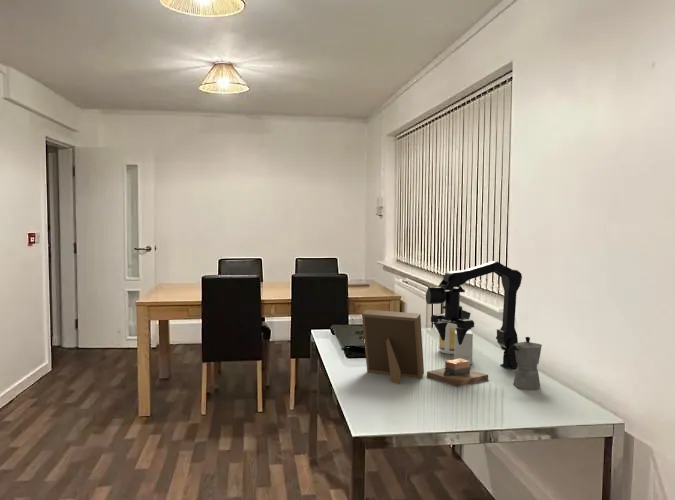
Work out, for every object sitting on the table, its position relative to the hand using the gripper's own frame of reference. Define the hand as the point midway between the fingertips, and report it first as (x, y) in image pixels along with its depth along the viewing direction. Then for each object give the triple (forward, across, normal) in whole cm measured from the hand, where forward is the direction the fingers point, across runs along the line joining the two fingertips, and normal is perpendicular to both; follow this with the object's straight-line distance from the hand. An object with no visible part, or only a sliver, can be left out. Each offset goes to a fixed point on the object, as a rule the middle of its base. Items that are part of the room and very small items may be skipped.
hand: (451, 342), depth 231 cm
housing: (+9, -10, +7) cm, 15 cm away
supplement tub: (+11, +22, -23) cm, 34 cm away
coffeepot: (+11, -31, -5) cm, 34 cm away
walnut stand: (+11, -10, +7) cm, 16 cm away
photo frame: (+11, +5, +27) cm, 30 cm away
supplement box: (+11, +7, -14) cm, 19 cm away
